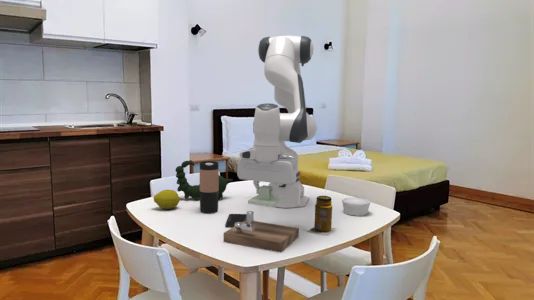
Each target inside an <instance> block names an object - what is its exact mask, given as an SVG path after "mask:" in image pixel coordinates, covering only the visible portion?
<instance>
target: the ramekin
mask: <svg viewBox="0 0 534 300" xmlns="http://www.w3.org/2000/svg"><path fill="white" fill-rule="evenodd" d="M341 203H342V209H343V212H344V214H346V215H348V214H349V215H348V216H352V215H355V216H354V217H362V216H361V215H364V216H366V215H367V214H368V212H369V209H370V204H371V201H370V200H369V199H366V198H363V197H362V198H361V197H347V198H343V199H342V200H341Z"/></svg>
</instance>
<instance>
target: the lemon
mask: <svg viewBox="0 0 534 300" xmlns="http://www.w3.org/2000/svg"><path fill="white" fill-rule="evenodd" d="M181 200H182V199H181V196H180V195H179V194H178V191H175V190H173V189H164V190H161V191H159V192H157V193H156V194H154V196H153V202H154V203H156V205H157V206H158V207H159V208H161V209H164V210H165V209H166V210H171V209H174V208H176V207H177V206H178V205H179V203H180V201H181Z"/></svg>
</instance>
